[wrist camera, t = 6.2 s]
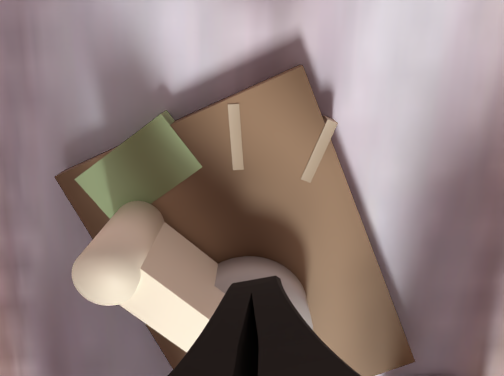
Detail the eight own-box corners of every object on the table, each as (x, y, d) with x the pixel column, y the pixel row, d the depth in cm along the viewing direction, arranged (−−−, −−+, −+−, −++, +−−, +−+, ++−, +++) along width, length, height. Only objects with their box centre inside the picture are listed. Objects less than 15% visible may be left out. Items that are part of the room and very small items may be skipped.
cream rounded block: (331, 304, 21) (354, 375, 16) (253, 374, 22) (253, 458, 17) (158, 162, 18) (127, 199, 14) (82, 251, 20) (31, 310, 15)
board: (213, 413, 25) (211, 431, 24) (58, 158, 20) (46, 165, 19) (416, 343, 23) (425, 359, 22) (305, 46, 18) (309, 46, 17)
